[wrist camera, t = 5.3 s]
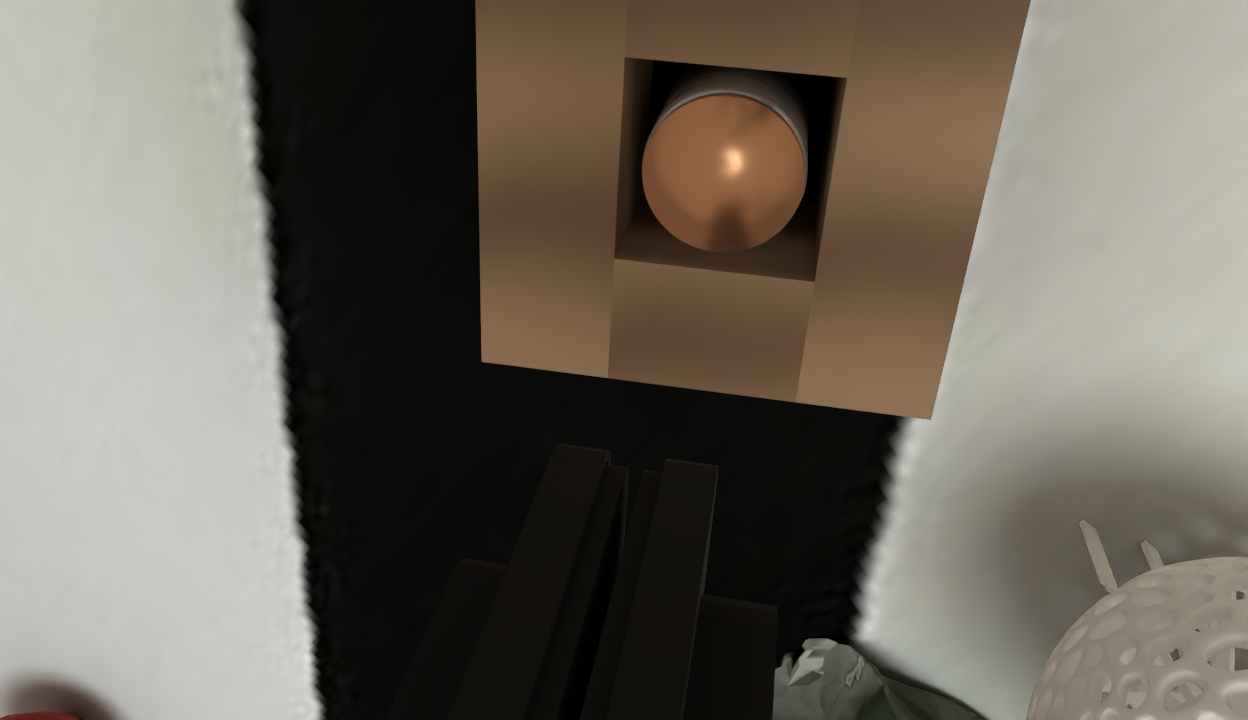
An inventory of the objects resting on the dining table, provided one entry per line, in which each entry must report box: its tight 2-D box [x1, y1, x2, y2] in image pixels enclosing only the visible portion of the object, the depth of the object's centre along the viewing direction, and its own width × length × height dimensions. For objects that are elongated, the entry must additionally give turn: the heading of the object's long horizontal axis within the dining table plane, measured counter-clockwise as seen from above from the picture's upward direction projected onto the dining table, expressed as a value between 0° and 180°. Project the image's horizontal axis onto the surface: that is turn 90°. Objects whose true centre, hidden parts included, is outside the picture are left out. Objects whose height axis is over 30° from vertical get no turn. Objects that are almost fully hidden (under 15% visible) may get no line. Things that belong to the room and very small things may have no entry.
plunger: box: [642, 63, 809, 253], centre depth 24 cm, size 4×4×5 cm
